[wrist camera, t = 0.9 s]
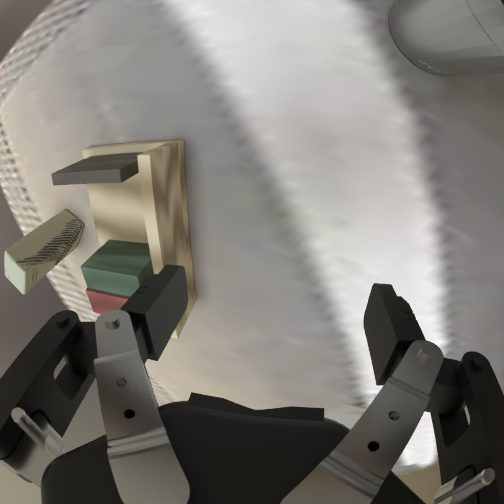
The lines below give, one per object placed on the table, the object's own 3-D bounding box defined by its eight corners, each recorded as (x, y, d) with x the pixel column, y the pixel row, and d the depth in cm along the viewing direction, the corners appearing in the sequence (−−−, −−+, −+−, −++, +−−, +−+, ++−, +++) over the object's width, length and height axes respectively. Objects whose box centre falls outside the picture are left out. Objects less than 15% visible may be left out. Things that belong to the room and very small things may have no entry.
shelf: (89, 146, 29) (41, 166, 21) (183, 140, 27) (143, 157, 20) (117, 285, 39) (88, 322, 32) (196, 299, 38) (175, 344, 31)
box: (78, 247, 37) (24, 298, 26) (59, 230, 36) (4, 276, 25) (85, 222, 35) (25, 273, 24) (65, 205, 34) (3, 250, 23)
